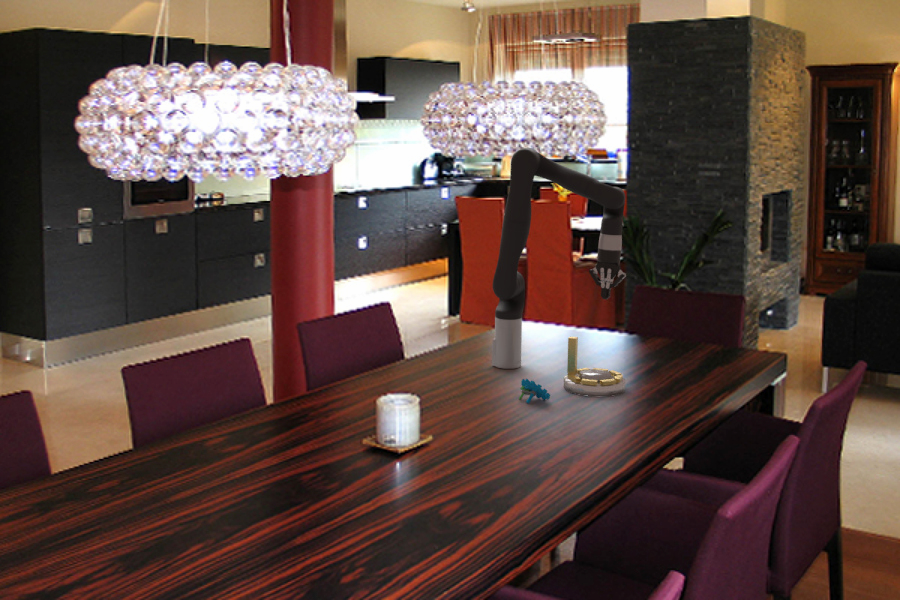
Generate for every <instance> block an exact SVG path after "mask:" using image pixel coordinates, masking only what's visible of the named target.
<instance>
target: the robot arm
mask: <svg viewBox="0 0 900 600" xmlns="http://www.w3.org/2000/svg"><path fill="white" fill-rule="evenodd" d="M535 177H537V178H542V179H544V180H545V179H546V180H548V181H550V182H552V183H553V184H556V185H558V186H560V187H562V188H563V189H565V190H567V191H568V192H571V193H573V194H575V195H578V196H579V197H582V198H585V199H587V200H591V201H593V202H595V203H596V204H598V205H600V206H602V207H603V211H602V212H603V215H602V219H601V222H600V234H599V237H598V239H599V240H598V247H597V249H598V250H597V257H596V258H597V259H596V264H595V267H593V268H591V269H589V270H588V274H590V276H591V278H592V280H593V281H594V283H595V285H596V286H599V287H600V288H601V289H600V297H601V299H602V300H609V298H611V292H612V288H616V287H618V286H619V284H620V283H621V282H622V281H623V280H624V279H625V278H626V277H627V273H625V272H623V270H622V268H621V254H622V248H623V246H622V244H623V240H622V239H623V236H622V235H623V227H624V226H623V225H624V223H623V218H624V213H625V205H626V194H625V192H624V190H623V189H622V188H621V187H618V186H612V185H609V184H606V183H603V182H602V181H601V182H600V181H599V180H598V179H596V178H594V177H593V176H590V175H588V174H584V173H582V172H581V171H580V172H579V171H577V170H575V169H572V168H569V167H567V166H564V165H562V164H560V163H557V162H555V161H553V160H551V159H550V158H549V157H546V156H544V155H543V154H542V153H540V152H538V151H536V149H534V148H531V147H523V148H520V149H518V150H516V151H515V152H514V153H513V155H512V156H511V158H510V175H509V191H508V194H507V198H506V204H505V208H504V213H503V220H502V229H501V236H500V243H499V244H500V245H499V254H498V259H497V264H496V267H495V272H494V276H493V279H492V291H493V293H494V295H495V297H497V298H498V304H497V306H496V308H495V311H494V313H495V314H494V338H492V340H491V341H492V346H491V347H492V350H491V352H492V353H491V354H492V355H491V356H492V357H491V366H493V367H495V368H499V369H504V370H505V369H506V370H512V369H513V370H514V369H518V368H521V366H522V336H523V335H522V333H523V331H522V330H523V329H522V328H523V327H522V326H523V311H524V307H525V298H526V297H525V295H526V282H525V279H524V276H523V274H521V272H519V271H518V270H519V262H520V259H521V256H522V253H523V251H524V250H525V249H524V248H525V246H526V244H527V241H528V238H529V235H530V231H531V222H532V188H533V183H534V180H535V179H534V178H535ZM598 274H599V275H598ZM616 276H617V278H616V279H614V278H615V277H616Z"/></svg>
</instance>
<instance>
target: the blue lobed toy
mask: <svg viewBox="0 0 900 600" xmlns="http://www.w3.org/2000/svg"><path fill="white" fill-rule="evenodd" d="M520 385H521V387H520V390H521V391H520V393H521V394H520V396H519V397H518V400H519V401H521V400H522V398H523V397H524V396H528V398H527V400H526V401H525V402H526V403H527V404H528V405H529V404H530V403H531V401H532V399H533V398H534V397H536V398H537V399H542V401H549V400H550V398H551V393H549V392H548V390H547V389H546V388H542V385H541V384H539V383H538V384H536V381H534V380H529V379H528V378H526V379H524V378H523V379H522V380H521V383H520Z"/></svg>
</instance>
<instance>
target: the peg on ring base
mask: <svg viewBox="0 0 900 600" xmlns="http://www.w3.org/2000/svg"><path fill="white" fill-rule="evenodd" d="M578 342H579V337H578V336H569V337H568V338H567V365H566V367H567V368H566V369H567V370H566V371H567V377H568V379H569V380H571V381H573V382H576V383H578V382H581V384H587V385H597V384H598V380H590V379H582V380H581V378H579V377H577V376H576V375H577V374H579V372H580V371H583V370H591V368H589V367H583V368H578V348H579V347H578V345H579V343H578ZM592 369H594V370H604V371H608V372H610V373H611V376H613V377H615V378H614V379H607V380H600V384H601V385H611V384H616V382H618V383H620V382H621V381H622V379H623V378H624V376H623V374H622V373H621V372H619V371H616V370H609V369H608V368H601V367H600V368H599V367H593V368H592Z"/></svg>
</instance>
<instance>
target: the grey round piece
mask: <svg viewBox="0 0 900 600" xmlns="http://www.w3.org/2000/svg"><path fill="white" fill-rule="evenodd" d="M590 369H591V368H590ZM576 376H577V377H579V378H581V380H582V379H590V380H598V384H597V385H587V384H581V382H578V383H576V382H573V381H571V380H569V379H568V377H567V375H565V376H564V377H563V387H564V386H565V387H564V389H565V390H566V391H567V390H568V391H570V392H569V393H571V392H572V393H571V394H574V393H576V394H575V395H577V394H580V395H579V396H583V395H588V396H587V397H592V396H607V397H613V396H612V395H615V396H619V395H621V393H622V394H623V393H625V392H626V380H625V378H624V377H623V379H622V381H621V382H620V383H618V382H616V384H611V385H601V384H600V380H607V379H614V378H615V377H613V376H611V373H610V372H609V370H608V371H604V370H594V369H593V368H592V369H591V370H583V371H580V372H579V374H577V375H576ZM568 391H567V392H568ZM618 394H619V395H618Z"/></svg>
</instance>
